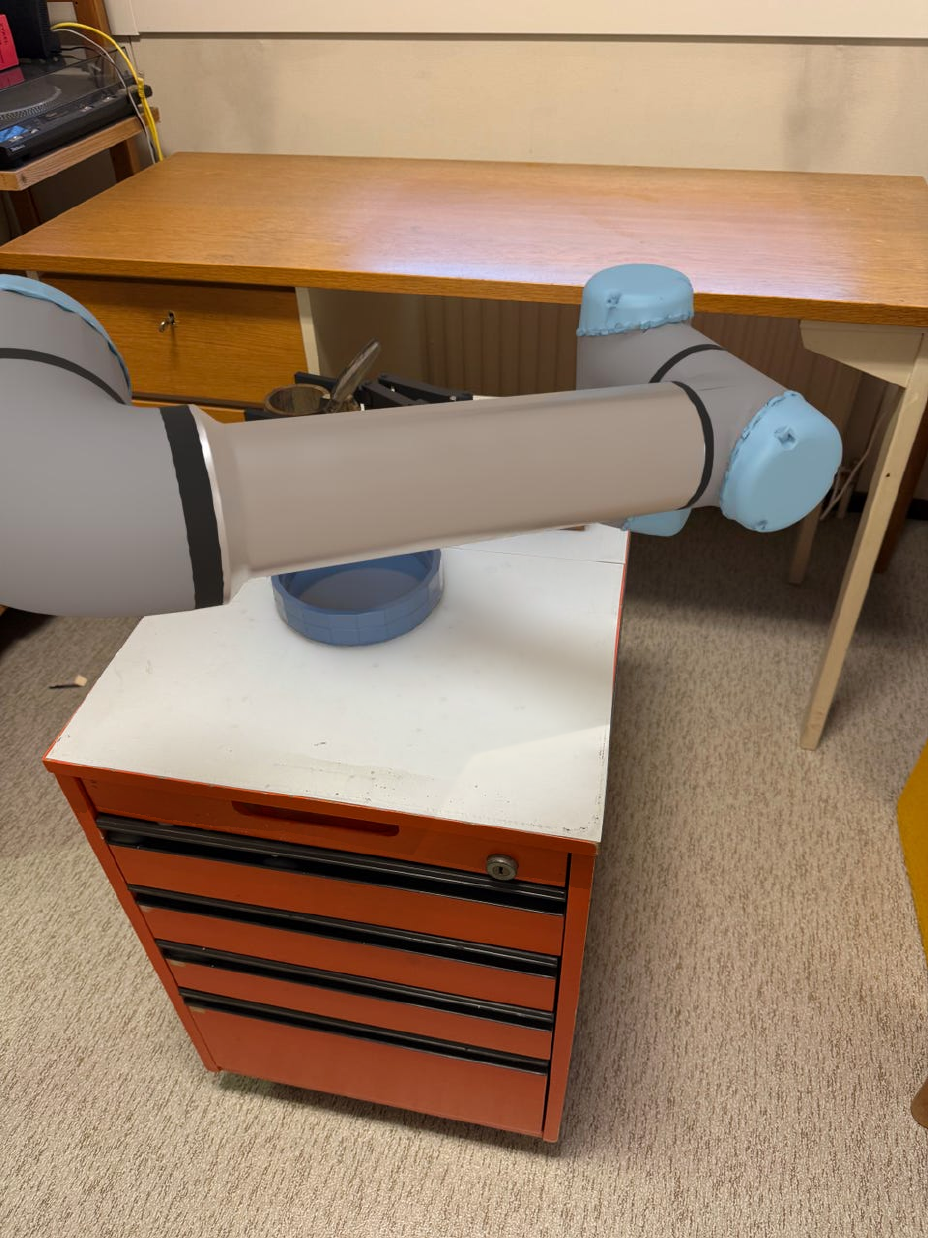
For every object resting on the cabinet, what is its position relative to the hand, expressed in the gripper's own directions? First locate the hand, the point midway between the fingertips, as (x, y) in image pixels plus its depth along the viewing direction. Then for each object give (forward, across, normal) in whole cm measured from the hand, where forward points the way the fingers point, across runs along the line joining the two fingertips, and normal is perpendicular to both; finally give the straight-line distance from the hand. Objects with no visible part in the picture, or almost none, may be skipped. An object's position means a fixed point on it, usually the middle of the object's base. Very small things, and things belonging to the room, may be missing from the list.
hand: (274, 404), depth 80 cm
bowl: (-5, +2, -22) cm, 23 cm away
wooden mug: (-5, 0, -10) cm, 11 cm away
